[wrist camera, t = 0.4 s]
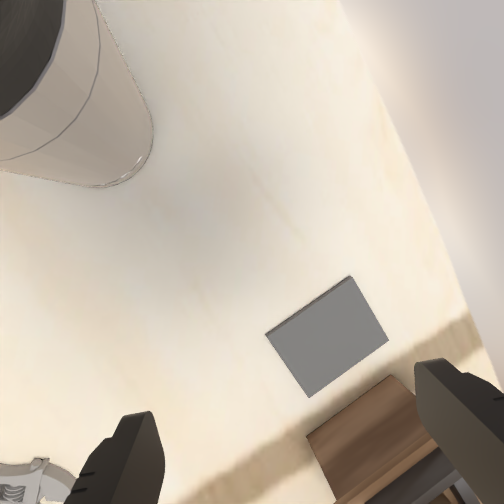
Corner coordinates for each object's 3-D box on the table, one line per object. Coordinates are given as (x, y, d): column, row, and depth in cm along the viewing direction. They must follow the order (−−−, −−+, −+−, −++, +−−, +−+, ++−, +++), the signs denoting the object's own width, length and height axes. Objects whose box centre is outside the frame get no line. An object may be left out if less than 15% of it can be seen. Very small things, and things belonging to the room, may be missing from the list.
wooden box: (302, 436, 32) (349, 537, 22) (391, 370, 33) (474, 440, 23) (358, 513, 34) (422, 634, 25) (439, 451, 35) (532, 544, 26)
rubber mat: (265, 334, 29) (266, 337, 29) (349, 276, 30) (352, 277, 30) (306, 394, 31) (308, 398, 31) (385, 337, 32) (389, 340, 31)
